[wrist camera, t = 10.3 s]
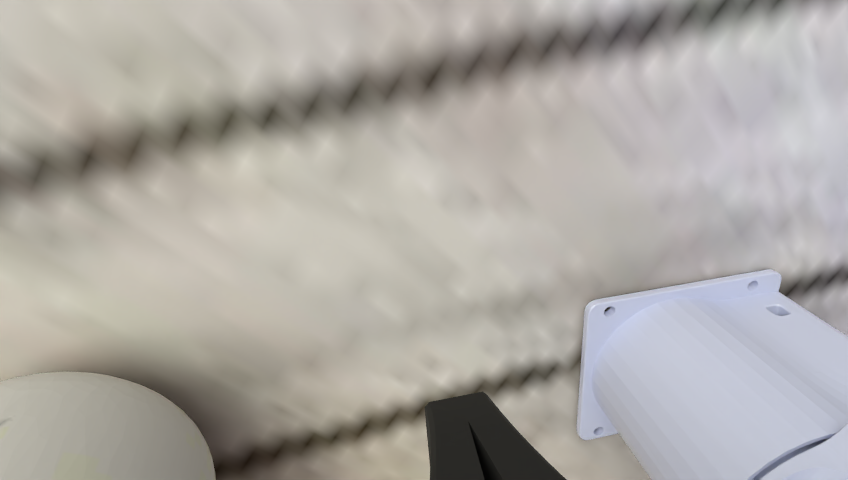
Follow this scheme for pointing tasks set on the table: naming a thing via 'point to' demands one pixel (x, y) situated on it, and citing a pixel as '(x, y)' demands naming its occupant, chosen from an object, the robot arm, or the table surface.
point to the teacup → (95, 431)
